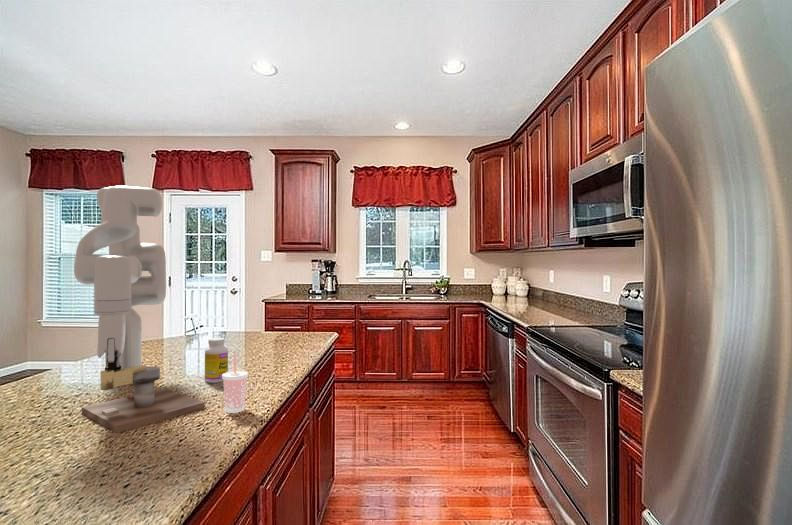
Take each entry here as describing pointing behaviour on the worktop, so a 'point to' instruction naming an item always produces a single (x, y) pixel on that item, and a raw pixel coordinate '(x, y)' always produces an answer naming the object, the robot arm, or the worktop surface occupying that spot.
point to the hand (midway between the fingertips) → (113, 383)
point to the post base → (141, 408)
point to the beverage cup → (234, 389)
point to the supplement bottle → (216, 360)
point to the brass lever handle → (128, 376)
